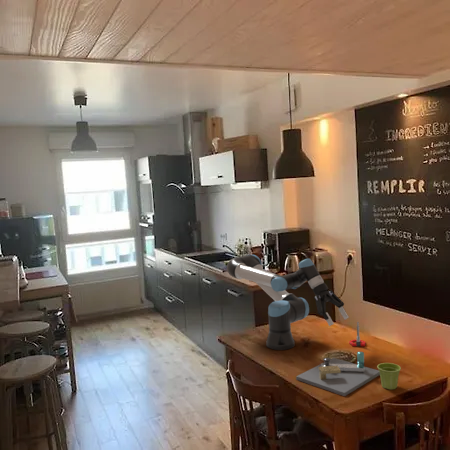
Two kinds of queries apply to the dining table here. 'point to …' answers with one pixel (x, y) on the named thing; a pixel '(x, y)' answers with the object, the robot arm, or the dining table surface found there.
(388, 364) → the plant pot
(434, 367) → the dining table surface
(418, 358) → the dining table surface
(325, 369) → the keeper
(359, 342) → the tow hook
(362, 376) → the base plate
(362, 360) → the lever
